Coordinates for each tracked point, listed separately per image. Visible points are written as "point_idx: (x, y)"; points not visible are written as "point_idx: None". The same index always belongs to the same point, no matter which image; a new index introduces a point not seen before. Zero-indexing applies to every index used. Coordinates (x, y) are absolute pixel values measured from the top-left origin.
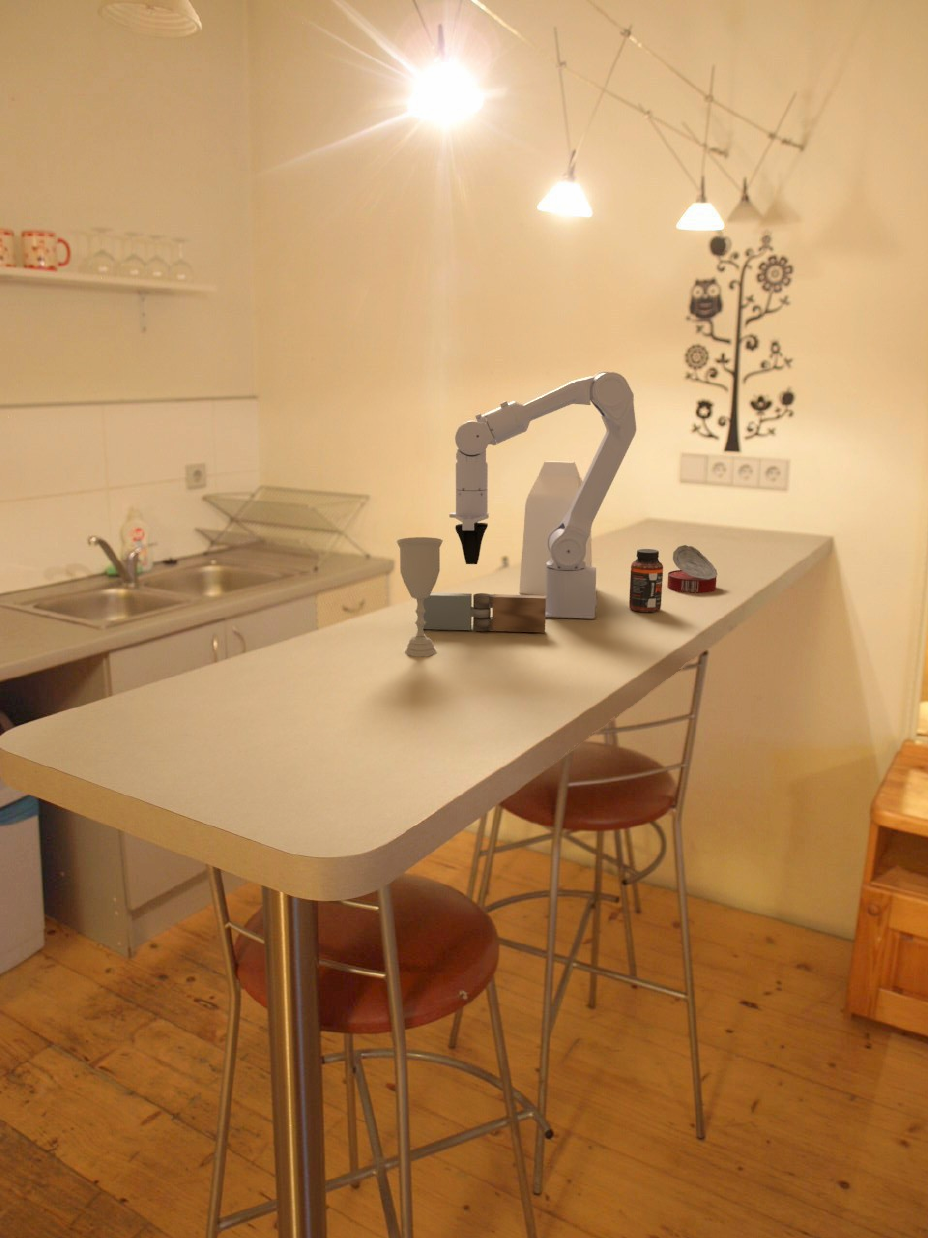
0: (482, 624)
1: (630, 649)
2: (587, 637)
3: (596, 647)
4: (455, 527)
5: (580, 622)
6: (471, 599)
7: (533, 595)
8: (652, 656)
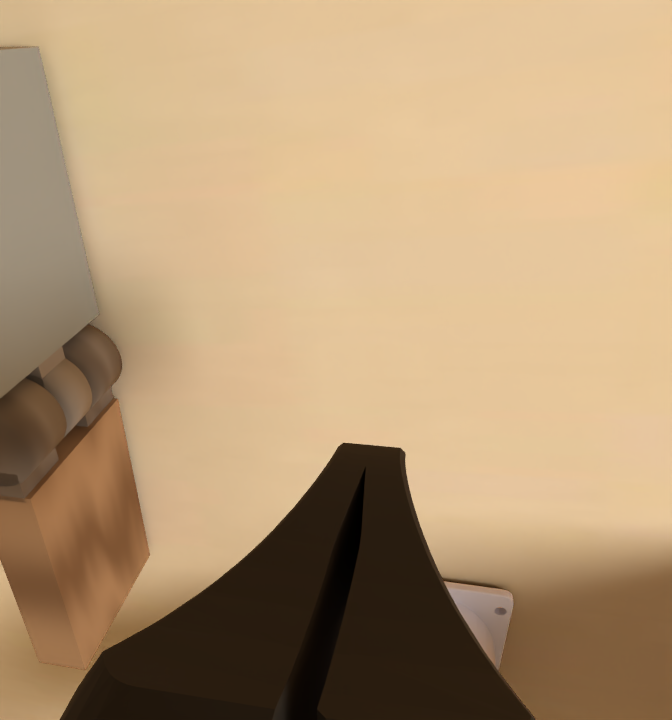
0: None
1: (42, 691)
2: (120, 635)
3: (27, 635)
4: (100, 703)
5: None
6: (12, 382)
7: (71, 634)
8: (3, 711)
